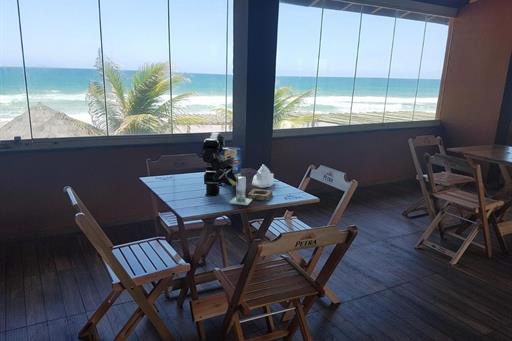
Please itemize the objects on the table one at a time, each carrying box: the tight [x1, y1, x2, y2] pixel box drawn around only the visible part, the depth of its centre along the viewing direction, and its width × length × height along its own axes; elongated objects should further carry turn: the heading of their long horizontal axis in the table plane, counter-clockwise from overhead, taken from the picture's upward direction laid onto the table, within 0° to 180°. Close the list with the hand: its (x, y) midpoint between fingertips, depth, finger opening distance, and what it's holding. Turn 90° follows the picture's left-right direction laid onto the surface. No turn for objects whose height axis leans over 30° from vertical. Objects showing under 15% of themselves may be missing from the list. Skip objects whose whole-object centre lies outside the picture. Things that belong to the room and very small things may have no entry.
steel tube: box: [235, 176, 247, 202], centre depth 195 cm, size 5×5×12 cm
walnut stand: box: [247, 188, 273, 201], centre depth 205 cm, size 11×11×2 cm
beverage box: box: [219, 146, 243, 187], centre depth 227 cm, size 7×11×22 cm, turn 118°
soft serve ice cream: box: [251, 164, 274, 189], centre depth 228 cm, size 12×15×14 cm
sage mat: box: [228, 196, 254, 206], centre depth 196 cm, size 10×10×1 cm
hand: (234, 183), depth 196 cm, fingers open, 9 cm apart
